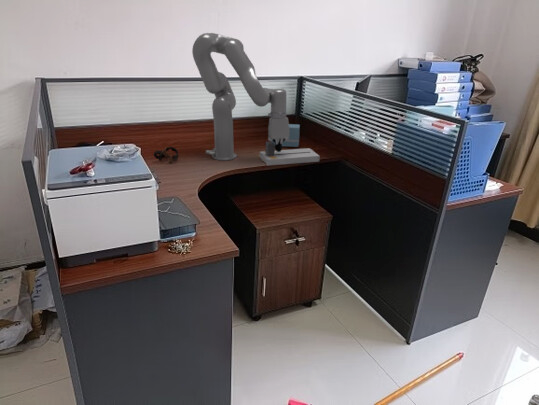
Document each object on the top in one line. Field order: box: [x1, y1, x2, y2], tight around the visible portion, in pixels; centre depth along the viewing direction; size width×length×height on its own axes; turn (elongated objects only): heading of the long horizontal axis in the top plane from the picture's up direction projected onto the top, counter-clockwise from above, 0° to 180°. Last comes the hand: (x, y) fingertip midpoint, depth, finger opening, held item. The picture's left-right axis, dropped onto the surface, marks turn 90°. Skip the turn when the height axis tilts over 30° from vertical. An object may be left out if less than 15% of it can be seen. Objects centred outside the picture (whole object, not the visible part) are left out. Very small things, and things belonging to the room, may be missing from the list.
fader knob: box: [265, 141, 275, 156], centre depth 197 cm, size 3×5×6 cm, turn 16°
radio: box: [272, 123, 301, 149], centre depth 222 cm, size 16×9×20 cm, turn 84°
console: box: [259, 147, 320, 166], centre depth 202 cm, size 28×14×3 cm, turn 106°
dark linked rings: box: [153, 146, 179, 164], centre depth 195 cm, size 12×10×8 cm
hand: (278, 151), depth 199 cm, fingers closed
